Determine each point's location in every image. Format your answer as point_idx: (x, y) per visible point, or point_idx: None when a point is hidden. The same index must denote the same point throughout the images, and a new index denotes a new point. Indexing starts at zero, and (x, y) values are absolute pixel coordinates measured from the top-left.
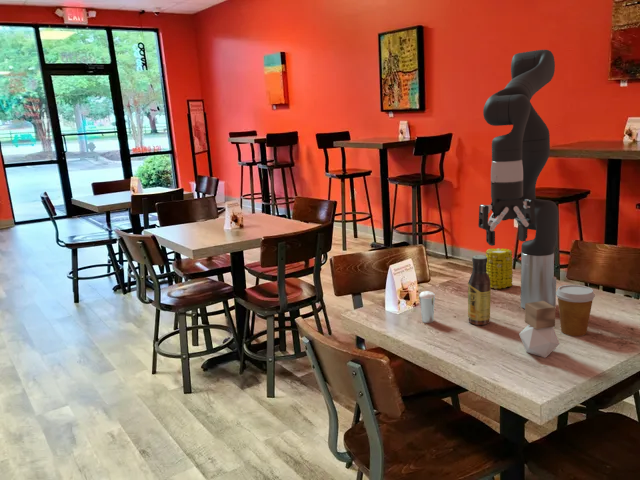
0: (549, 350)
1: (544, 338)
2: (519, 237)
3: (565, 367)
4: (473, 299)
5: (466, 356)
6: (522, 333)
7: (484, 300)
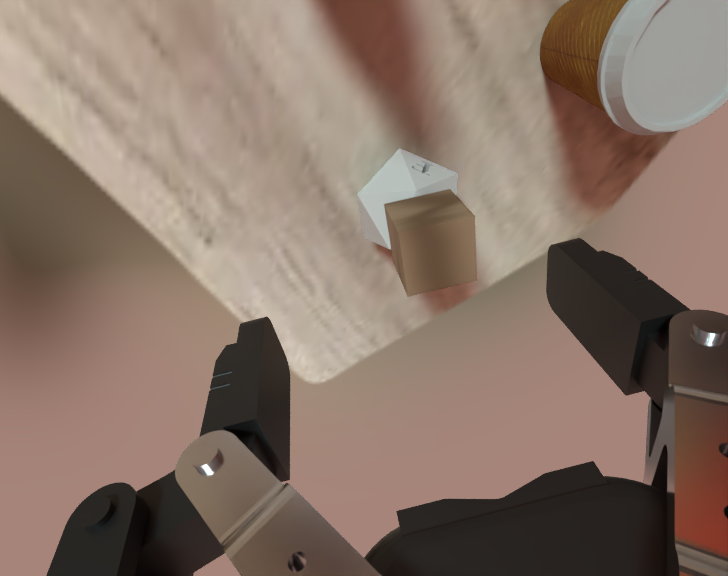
0: None
1: None
2: (563, 266)
3: None
4: None
5: (192, 192)
6: (364, 208)
7: None
